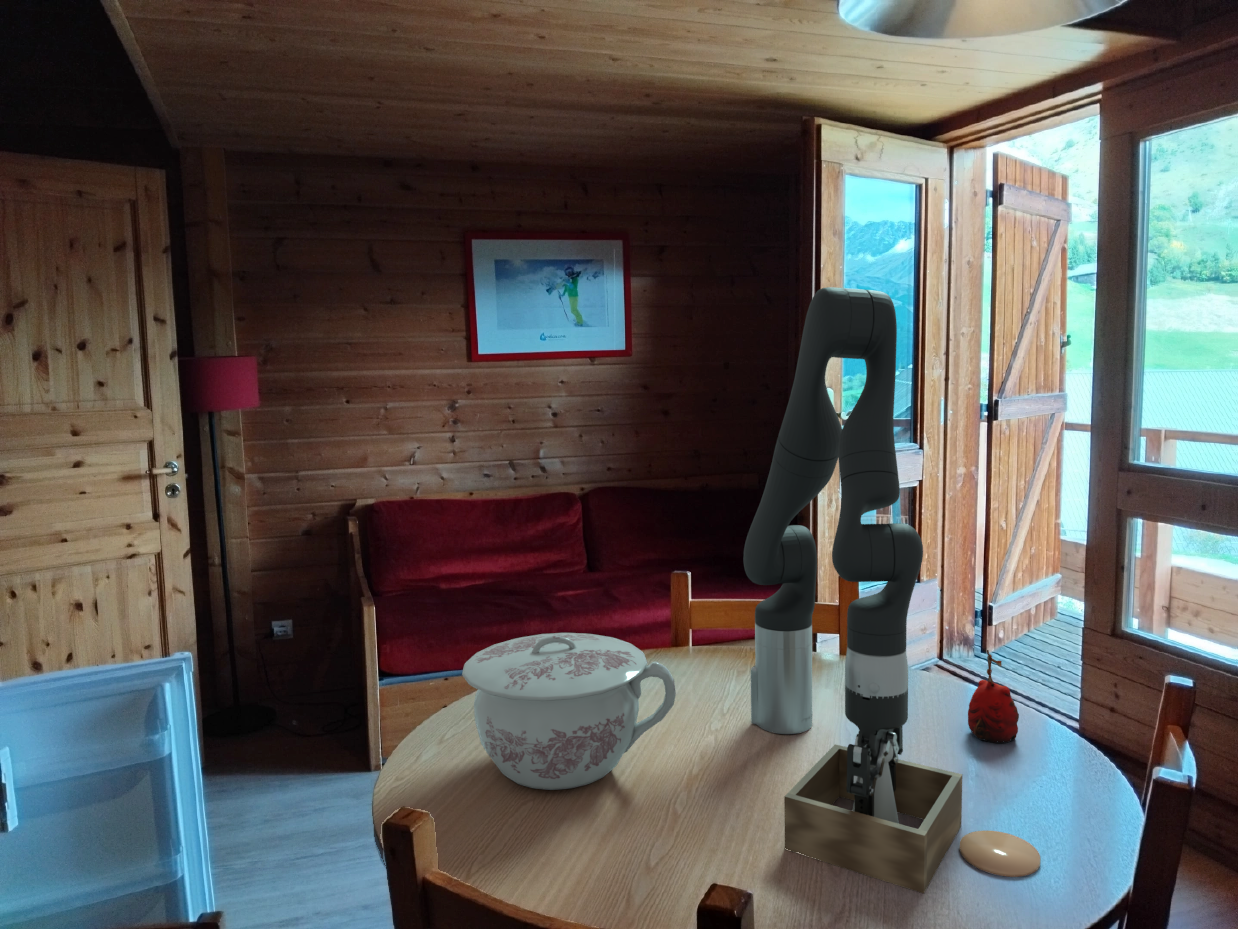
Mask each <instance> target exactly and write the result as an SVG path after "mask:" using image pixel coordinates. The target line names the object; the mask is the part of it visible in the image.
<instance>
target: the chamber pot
mask: <svg viewBox="0 0 1238 929" xmlns="http://www.w3.org/2000/svg"><path fill="white" fill-rule="evenodd" d="M461 673H462V674H461V676H462V678H464V679H465V681H466V682H467V684H468V685H469V686H471V687H472V688H474V689H476V692H475V696H474V701H473V710H474V712H473V713H474V723H475V725H476V729H477V734H478V736H479V741H480V744H481V746H482V747H483V749H484V751H485V752H486V754H487V755H488V756H489V758H490V759H491V760H492V762H493V764H495V766H496V767H497V768H498V770H499V771H500V773H502V775H503V776H505V778H507V779H509V780H511V781H512V782H514V783H515V784H518V785H521V786H524V787H527V788H531V789H535V790H537V789H539V790H547V791H548V790H549V791H552V790H553V791H554V790H555V791H556V790H568V789H574V788H578V787H583V786H586V785H589V784H591V783H594V782H596V781H599V780H600V779H602V778H604V777H606V775H608V774H609V773H611V771H612V770H613V769H615V767H617V765H618V763H619V762H620V760H621V759H622V757H623V756H624V754H625V753H627V752H628V751H629V750H630V749H631V747H632V746H633V745H634V744H635V743H636V741H637V740H638V739H639V738H640V737H642V735H643V734H644V733H646V732H647V731H648V730H649V729H651V728H653V727H655V725H657V724H658V723H660V722H662V721H663V720H664V718H665V717H666V715H668V713H669V711H671V709H672V708H673V706H674V705H675V701H676V700H675V699H676V696H677V692H676V683H675V682H676V681H675V678H674V677H673V675H672V673H671V671H670V670H669V669H668V668H667V666H665V665H664V664H662V663H661V662H660V661H652V662H651V663H650V664H648V660H647V658H646V654H645V653H644V652H643V651H642V650H641V649H640V648H638V647H636V646H635V645H634V644H632V643H630V642H627V641H625V640H622V639H619V638H616V637H613V636H607V635H606V636H605V635H599V634H593V633H585V632H584V633H582V632H581V633H578V632H577V633H576V632H555V633H541V634H534V635H529V636H527V635H526V636H522V637H516V638H512V639H510V640H506V641H503V642H499V643H495V644H492V645H490V646H488V647H486V648H484V649H482V650H480V651H477V652H476V653H475V654H473V655H472V656H471V657H470V658H469V659H468V660H466V662H465V663H464V664H463V669H462V672H461ZM652 677H653V678H658V679H661V680H662V682H663V685H664V692H665V693H664V697H663V701H662V703H661V704H660V705H659V706H658V708H657V709H656V710H655V711H654V712H653V713H652V714H651V715H649V716H647V717H645V718H644V719H642V720H640V721H639V722H637V721H638V717H639V716H638V715H639V711H640V710H639V709H640V708H639V707H640V706H639V705H640V704H639V699H640V697H642V684H641V682H642V681H643V680H646V679H648V678H652Z"/></svg>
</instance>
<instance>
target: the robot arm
mask: <svg viewBox="0 0 1238 929" xmlns="http://www.w3.org/2000/svg"><path fill="white" fill-rule="evenodd" d="M897 326H898V324H897V314H896V308H895V304H894V302H893V300H892V298H891V296H890V295H889V294H887V293H886V292H883V291H880V290H876V289H875V290H873V289H862V288H860V289H859V288H848V287H847V288H846V287H836V286H834V287H832V286H831V287H829V286H828V287H823V288H820V289H818V290H817V291H816V292H815V294H814V295H813V297H812V299H811V301H810V303H809V306H808V309H807V312H806V316H805V321H804V326H803V330H802V335H801V336H802V337H801V341H800V348H799V352H798V358H797V364H796V368H795V375H794V380H793V384H792V387H791V392H790V395H789V400H788V403H787V406H786V410H785V413H784V416H783V420H782V423H781V426H780V429H779V431H778V432H779V433H778V435H777V436H778V437H777V438H776V443H775V446H774V451H773V456H772V460H771V461H772V462H771V465H770V470H769V473H768V477H767V480H766V483H765V487H764V490H763V494H762V497H761V499H760V502H759V505H758V507H757V510H756V512H755V515H754V517H753V520H752V522H751V524H750V528H749V530H748V532H747V536H746V539H745V543H744V548H743V559H742V560H743V568H744V572H745V574H746V576H747V578H748V579H749V581H751V582H752V583H753V584H756V585H759V586H760V585H761V586H762V585H763V586H772V585H780V584H781V587H780V588H779V589H778V590H777V591H776V592H775V593H773V594H772V595H770V596H769V597H767V598H765V599H763V600H762V601H760V602H758V603H757V605H756V606H755V609H754V610H755V611H754V634H755V635H754V641H755V642H754V644H755V645H754V646H755V647H754V649H755V654H754V655H755V664H754V666H752V667H751V668H750V720H751V721H750V722H751V724H754V725H756V726H758V727H759V728H760V729H762V730H764V731H766V732H770V733H773V734H778V735H779V734H781V735H794V734H796V735H797V734H800V733H803V732H806V731H808V730H810V729H811V727H812V726H813V614H814V610H815V605H816V587H817V586H816V585H817V584H816V582H817V567H818V566H817V565H818V556H817V547H816V541H815V539H814V538H815V537H814V536H813V533H812V532H811V531H810V529H809V528H808V527H806V526H804V525H801V524H800V525H798V524H791V521H793V519H794V518H795V517H796V516H797V515H798V514H799V512H801V511H802V510H803V509H804V508H805V507H806V506H808V504H810V502H811V501H813V500H814V499H815V497H817V496H818V495H819V494H820V493H821V492H822V491H823V489H824V488H825V487H826V486H827V484H828V483H830V480H831V478H832V477H833V474H834V472H835V470H836V465H837V463H838V467H839V476H840V477H839V478H840V479H839V480H840V490H841V491H840V496H841V497H840V498H841V499H840V510H839V517H838V521H837V526H836V530H835V531H836V532H835V534H834V540H833V545H832V550H831V560H832V564H833V568H834V570H835V571H836V573H837V574H838V575H839V577H840V578H841V579H843V580H844V581H847V582H850V583H867V582H868V583H871V582H873V583H875V582H878V583H880V582H886V584H885V586H884V587H883V588H882V590H880V591H878V592H877V593H874V594H871V595H867V596H864V597H859V598H856V599H855V600H852V601H851V602H850V604H848V607H847V611H846V613H847V614H846V615H847V616H846V633H847V634H846V643H847V644H846V645H847V646H846V655H845V661H844V662H845V663H844V664H845V665H844V714H845V717H846V719H847V720H848V721H849V722H851V723H852V724H853V725H855V726H856V727H857V729H858V733H857V734H856V735H855V738H854V739H855V741H854V744H852V743H849V744H848V746H846V747H847V786H846V790H847V793H852V794H855V812H858V813H862V814H865V815H869V816H873V817H874V792H875V785H876V780H877V778H880V777H881V776H882V772H883V767H884V762H885V757H886V755H888V752H889V747H890V743H891V744H892V747H893V758H892V759H891V760H890V761H889V762H888V764H889V769H890V775H891V781H892V786H893V792H895V790H896V765H897V764H898V762H899V756H902V754H903V751H904V747H903V746H904V744H903V743H904V742H903V741H904V740H903V739H904V736H903V726H904V725H905V724H906V723H907V722H908V719H909V664H908V656H907V622H908V619H907V618H908V613H909V609H910V603H911V600H912V599H911V598H912V597H913V596H912V594H913V592H914V588H915V586H916V583H917V580H918V576H919V574H920V571H921V567H922V563H923V558H924V547H923V546H924V545H923V541H922V539H921V537H920V534H919V533H918V531H917V530H916V529H915V528H914V527H913V526H912V525H909V524H908V523H901V522H900V523H898V522H897V523H862V516H863V515H865V514H866V513H869V512H872V511H877V510H879V509H885V508H887V507H890V506H893V505H894V504H895V503H896V502H898V500H899V498H900V495H901V494H900V491H901V490H900V489H901V488H900V478H899V470H898V462H897V453H896V452H897V451H896V445H895V434H894V433H895V430H894V428H895V427H894V426H895V425H894V413H895V411H894V410H895V394H896V393H895V392H896V391H895V390H896V372H897V370H896V368H897V342H898V340H897V338H898V335H897V334H898V327H897ZM832 358H837V359H850V360H851V359H852V360H853V359H856V360H864V362H865V368H866V377H865V383H864V386H863V388H862V391H861V393H860V395H859V397H858V400H857V401H856V403H855V405H854V407H853V409H852V410H851V412H850V413H849V415H848V417H847V419H846V420H845V422H844V424H843V427H842V425H841V421H840V418H839V416H838V412H837V411H836V410H835V406H834V405H833V402H832V401H831V397H830V394H829V391H828V386H827V385H826V373H827V367H828V363H829V361H830V360H831V359H832ZM790 524H791V525H790ZM870 765H874V766H876V767H875V768H870ZM860 778H862V779H863V783H860Z"/></svg>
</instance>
